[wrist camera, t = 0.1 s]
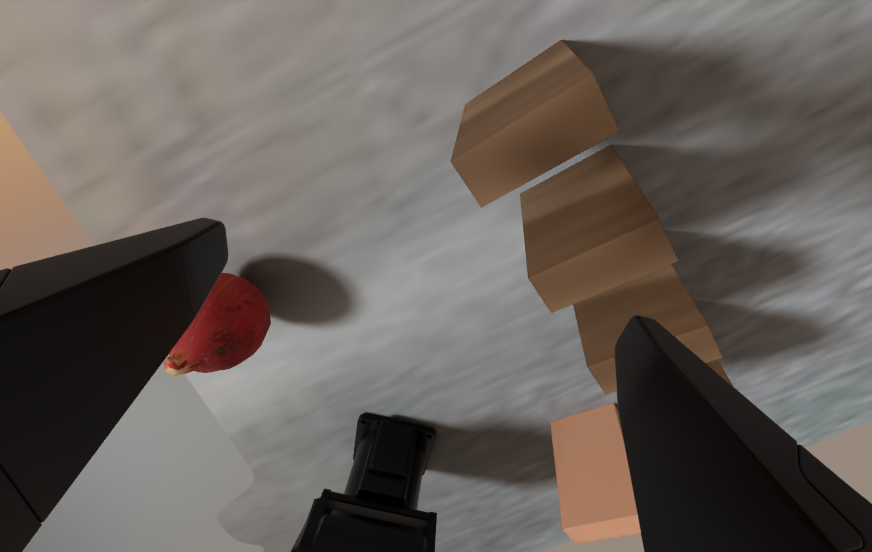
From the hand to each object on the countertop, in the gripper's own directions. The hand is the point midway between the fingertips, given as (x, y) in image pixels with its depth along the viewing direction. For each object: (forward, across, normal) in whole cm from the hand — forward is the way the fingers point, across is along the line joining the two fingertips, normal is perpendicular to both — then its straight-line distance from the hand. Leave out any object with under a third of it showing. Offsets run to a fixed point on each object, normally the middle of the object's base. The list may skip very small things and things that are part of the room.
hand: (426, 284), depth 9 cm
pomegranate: (+15, +12, +14) cm, 24 cm away
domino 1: (+15, -2, -1) cm, 15 cm away
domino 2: (+15, -6, +2) cm, 16 cm away
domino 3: (+15, -10, +6) cm, 19 cm away
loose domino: (+15, -14, +20) cm, 29 cm away
